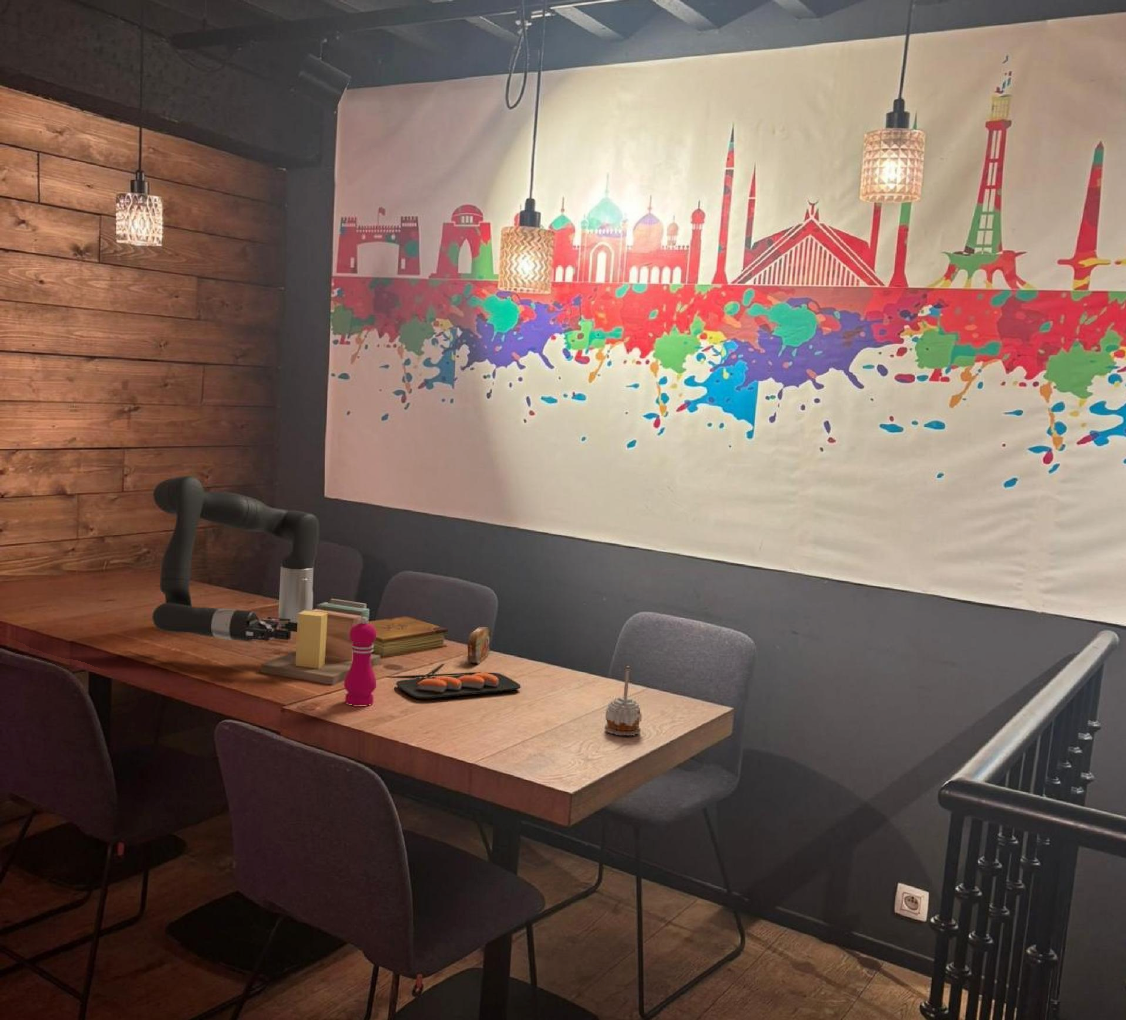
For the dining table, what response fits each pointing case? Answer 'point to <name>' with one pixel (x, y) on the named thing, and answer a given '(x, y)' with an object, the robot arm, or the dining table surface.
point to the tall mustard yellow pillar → (311, 639)
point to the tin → (479, 645)
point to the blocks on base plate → (327, 646)
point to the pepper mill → (361, 665)
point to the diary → (405, 636)
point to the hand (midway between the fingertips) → (296, 631)
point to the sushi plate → (455, 684)
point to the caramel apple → (623, 714)
